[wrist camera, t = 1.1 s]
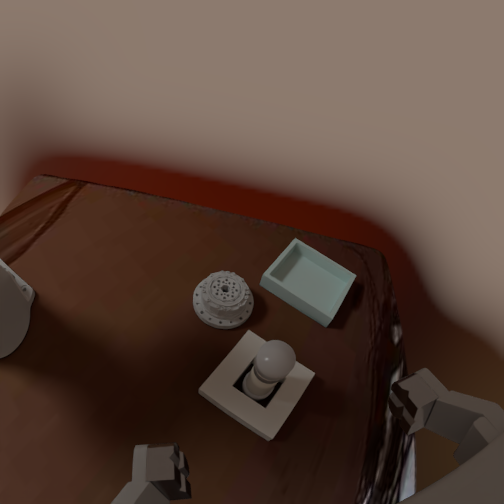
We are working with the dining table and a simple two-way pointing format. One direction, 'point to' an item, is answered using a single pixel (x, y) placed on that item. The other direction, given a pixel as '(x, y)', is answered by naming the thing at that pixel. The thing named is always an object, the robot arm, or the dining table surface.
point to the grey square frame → (245, 408)
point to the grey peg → (268, 369)
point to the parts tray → (308, 281)
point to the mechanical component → (223, 300)
